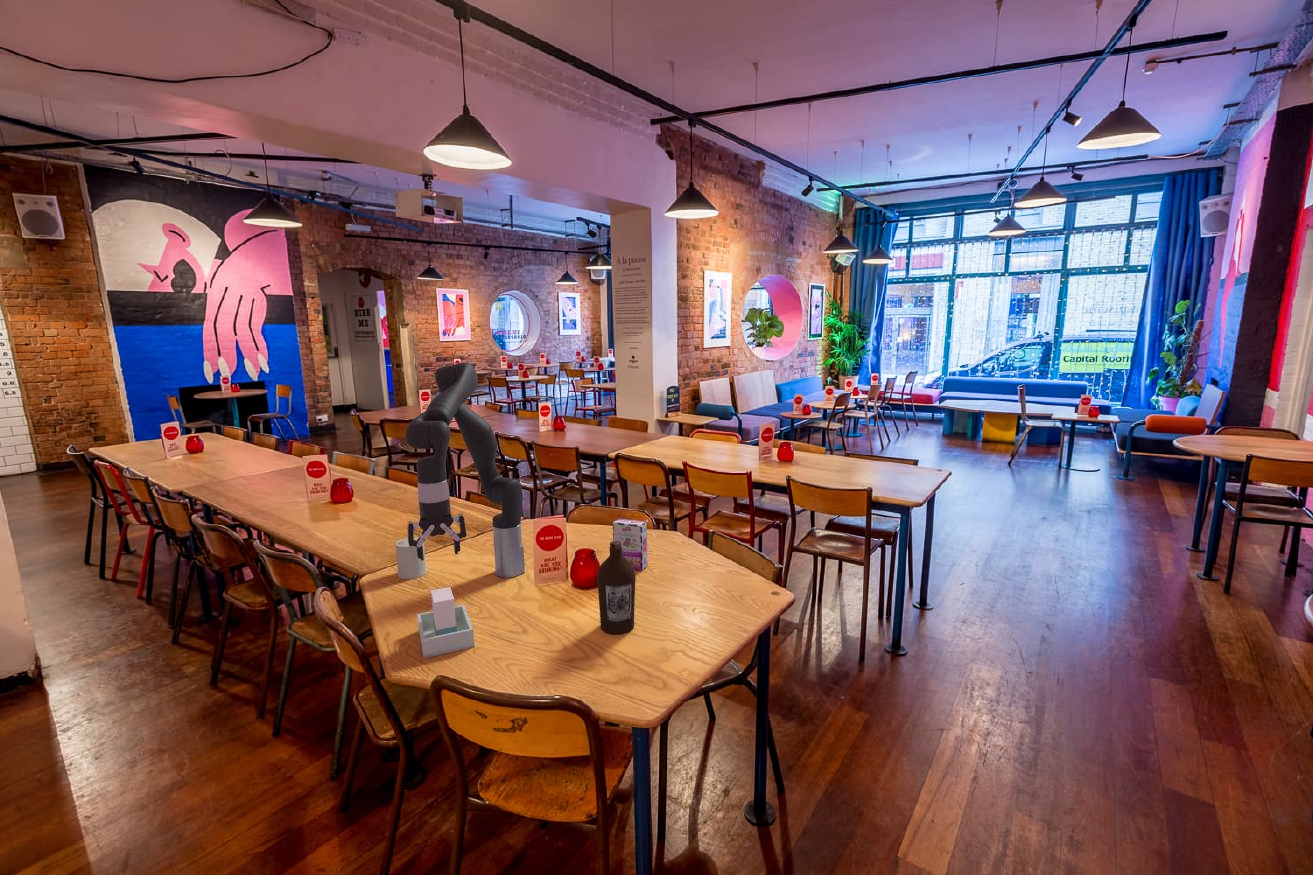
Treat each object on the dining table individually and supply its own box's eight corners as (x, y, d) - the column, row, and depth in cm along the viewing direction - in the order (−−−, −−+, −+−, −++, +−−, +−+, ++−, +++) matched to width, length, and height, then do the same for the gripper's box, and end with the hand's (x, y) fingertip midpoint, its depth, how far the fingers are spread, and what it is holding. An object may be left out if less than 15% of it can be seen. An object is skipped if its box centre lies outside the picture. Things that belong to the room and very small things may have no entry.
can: (397, 570, 207) (394, 537, 205) (426, 566, 210) (423, 534, 208) (397, 581, 199) (394, 547, 196) (427, 576, 202) (424, 542, 200)
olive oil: (596, 620, 172) (593, 537, 167) (632, 615, 174) (631, 534, 169) (601, 638, 162) (598, 551, 157) (639, 634, 164) (638, 547, 159)
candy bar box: (648, 566, 209) (647, 521, 206) (642, 571, 205) (641, 525, 202) (619, 561, 213) (618, 517, 210) (613, 566, 209) (612, 522, 206)
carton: (453, 626, 167) (450, 586, 165) (457, 640, 160) (454, 598, 157) (434, 631, 165) (430, 590, 162) (437, 645, 158) (433, 602, 155)
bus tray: (465, 620, 172) (464, 604, 171) (474, 646, 158) (473, 629, 157) (418, 630, 167) (417, 614, 166) (423, 658, 153) (422, 640, 152)
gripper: (460, 489, 161) (465, 546, 164) (403, 497, 155) (409, 556, 158) (464, 497, 154) (469, 556, 157) (405, 505, 148) (411, 566, 151)
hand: (439, 556), depth 158 cm, fingers open, 8 cm apart
